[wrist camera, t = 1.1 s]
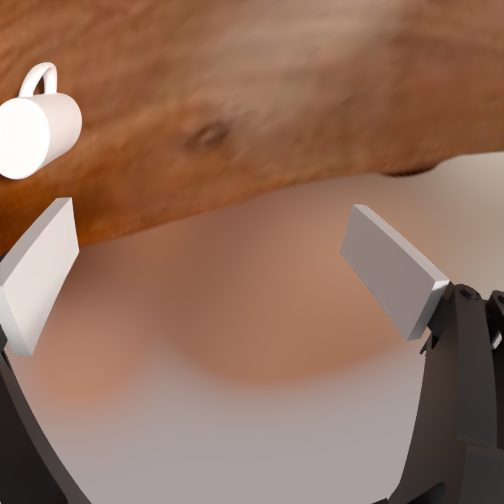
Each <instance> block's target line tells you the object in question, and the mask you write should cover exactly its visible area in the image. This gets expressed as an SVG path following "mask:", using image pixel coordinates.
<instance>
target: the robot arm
mask: <svg viewBox="0 0 504 504" xmlns="http://www.w3.org/2000/svg"><path fill="white" fill-rule="evenodd" d="M78 253H79V248H78V242H77V236H76V229H75V222H74V215H73V206H72V197H71V198H56V200H55V201H54V202H53V203H52V204H51V205H50V206H49V207H48V208H47V209H46V210H45V211H44V212H43V213H42V214H41V215H40V216H39V217H38V219H37V220H36V221H35V222H34V223H33V224H32V225H31V226H30V227H29V229H28V230H27V231H26V232H25V233H24V234H23V235H22V237H21V238H20V239H19V240H18V241H17V243H16V244H15V245H14V246H13V247H12V249H11V250H8V251H6V252H5V253H4V254H2V255H1V256H0V502H1V504H91V502H90V501H89V500H88V499H87V497H86V496H85V495H84V493H83V492H82V491H81V489H80V488H79V487H78V485H77V484H76V483H75V481H74V480H73V478H72V477H71V476H70V474H69V473H68V471H67V470H66V468H65V467H64V465H63V464H62V462H61V461H60V459H59V458H58V456H57V455H56V453H55V451H54V450H53V448H52V446H51V445H50V443H49V441H48V440H47V438H46V436H45V435H44V433H43V431H42V430H41V427H40V426H39V424H38V422H37V420H36V418H35V416H34V415H33V413H32V411H31V409H30V407H29V405H28V403H27V401H26V399H25V397H24V394H23V392H22V390H21V388H20V386H19V384H18V381H17V379H16V377H15V374H14V372H13V370H12V367H11V365H10V362H9V360H8V357H7V355H6V353H5V351H4V347H5V345H6V343H7V341H8V343H9V345H10V347H11V349H12V351H13V353H14V354H20V355H27V356H32V354H33V351H34V349H35V346H36V343H37V341H38V339H39V336H40V334H41V331H42V329H43V326H44V324H45V322H46V319H47V317H48V315H49V312H50V310H51V308H52V306H53V303H54V301H55V299H56V297H57V295H58V293H59V291H60V289H61V287H62V284H63V282H64V280H65V278H66V276H67V274H68V272H69V270H70V268H71V266H72V265H73V263H74V261H75V259H76V257H77V255H78ZM340 253H341V255H342V256H343V257H344V258H345V260H346V261H347V262H348V263H349V265H350V266H351V267H352V268H353V270H354V271H355V272H356V274H357V275H358V276H359V278H360V279H361V280H362V281H363V283H364V284H365V285H366V287H367V288H368V289H369V291H370V292H371V293H372V295H373V296H374V297H375V299H376V300H377V301H378V303H379V304H380V305H381V307H382V308H383V309H384V311H385V312H386V314H387V315H388V316H389V318H390V319H391V320H392V322H393V323H394V325H395V326H396V327H397V329H398V330H399V332H400V333H401V334H402V336H403V337H404V339H405V340H406V341H409V340H415V339H420V338H421V336H422V335H423V333H424V331H425V329H426V327H427V326H428V328H429V329H430V330H431V334H430V336H429V338H428V339H427V341H426V343H425V344H424V346H423V348H422V349H421V351H420V354H422V353H423V352H424V351H425V350H426V355H425V356H426V359H425V367H424V375H423V382H422V388H421V394H420V400H419V406H418V412H417V416H416V421H415V426H414V431H413V435H412V439H411V444H410V448H409V452H408V455H407V459H406V463H405V467H404V470H403V474H402V477H401V480H400V483H399V485H398V487H397V488H396V490H395V491H394V492H393V493H392V495H391V496H390V498H389V500H387V498H385V499H383V500H380V501H378V502H375V503H372V504H504V292H501V291H497V290H495V291H493V292H492V294H491V296H490V298H489V300H483V299H482V298H481V296H480V294H479V293H478V292H477V291H475V290H474V289H473V288H471V287H469V286H467V285H464V284H457V285H453V283H452V282H451V281H450V280H449V279H448V278H447V277H446V276H445V275H444V274H443V273H442V272H441V271H440V270H439V269H438V268H437V267H436V266H434V265H433V264H432V263H431V262H430V261H429V260H428V259H427V258H426V257H425V256H424V255H423V254H422V253H420V252H419V251H418V250H417V249H416V248H415V247H414V246H413V245H412V244H411V243H409V242H408V241H407V240H406V239H405V238H404V237H403V236H401V235H400V234H399V233H398V232H397V231H396V230H394V229H393V228H392V227H391V226H390V225H389V224H387V223H386V222H385V221H384V220H383V219H382V218H380V217H379V216H378V215H377V214H376V213H374V212H373V211H372V210H371V209H369V208H368V207H367V206H366V205H357V204H352V209H351V213H350V217H349V221H348V225H347V229H346V233H345V237H344V240H343V244H342V248H341V252H340ZM500 333H501V336H502V340H501V342H500V344H499V345H498V346H497V348H496V349H495V348H494V346H493V344H494V342H495V341H496V339H497V338H498V336H499V335H500Z"/></svg>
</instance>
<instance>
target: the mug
mask: <svg viewBox="0 0 504 504" xmlns="http://www.w3.org/2000/svg"><path fill="white" fill-rule="evenodd" d="M42 75H43V79H44V94H40V95H33V92H34V90H35V88H36V86H37V84H38V82H39V80H40V78H41V77H42ZM56 90H57V71H56V67H55V65H54V64H52V63H49V62H45V63H40V64H38V65H36V66H34V67H33V68H32V69H31V70H30V71H29V73H28V74H27V76H26V77H25V79H24V81H23V84H22V86H21V89H20V92H19V96H18V98H14V99H11V100H8V101H7V102H5V103H3V104H2V105H1V106H0V174H2V175H3V176H5V177H7V178H10V179H23V178H26V177H28V176H30V175H32V174H33V173H35V172H36V171H38V170H39V169H40V168H42V167H43V166H45V165H47V164H48V163H50V162H51V161H53V160H54V159H56V158H57V157H59V156H61V155H62V154H64V153H65V152H67V151H68V150H69V149H71V148H72V146H73V145H74V144H75V143H76V141H77V139H78V137H79V135H80V131H81V126H82V117H81V112H80V109H79V107H78V105H77V104H76V102H75V101H74V100H73V99H72V98H71V97H69V96H68V95H66V94H63V93H57V92H56Z"/></svg>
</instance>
